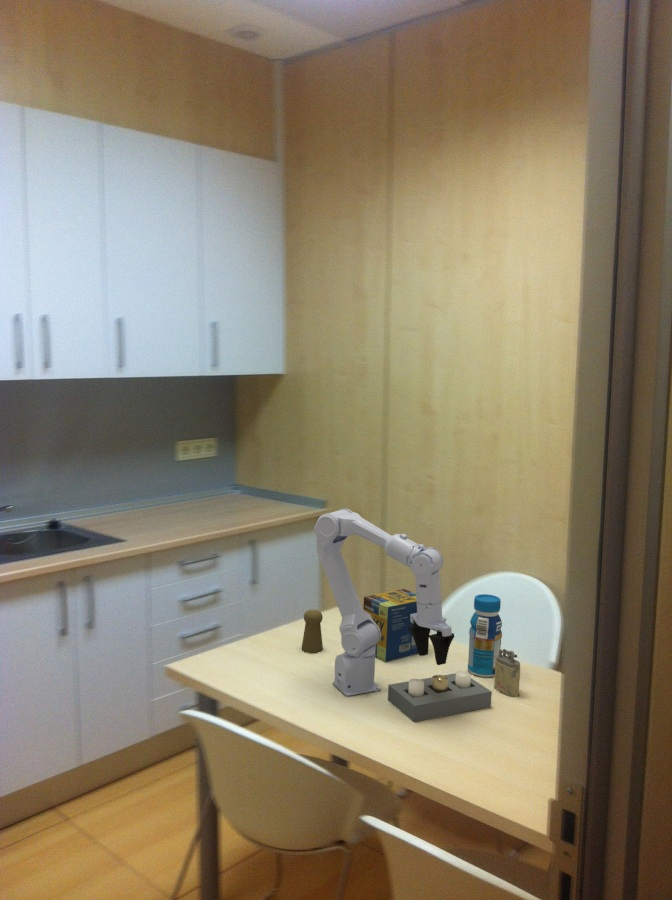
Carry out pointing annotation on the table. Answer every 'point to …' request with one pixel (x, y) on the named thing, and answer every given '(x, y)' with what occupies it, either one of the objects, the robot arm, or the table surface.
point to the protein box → (393, 623)
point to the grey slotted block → (439, 699)
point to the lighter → (507, 673)
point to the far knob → (462, 679)
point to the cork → (312, 632)
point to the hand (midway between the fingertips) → (432, 659)
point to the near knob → (416, 688)
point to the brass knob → (440, 683)
